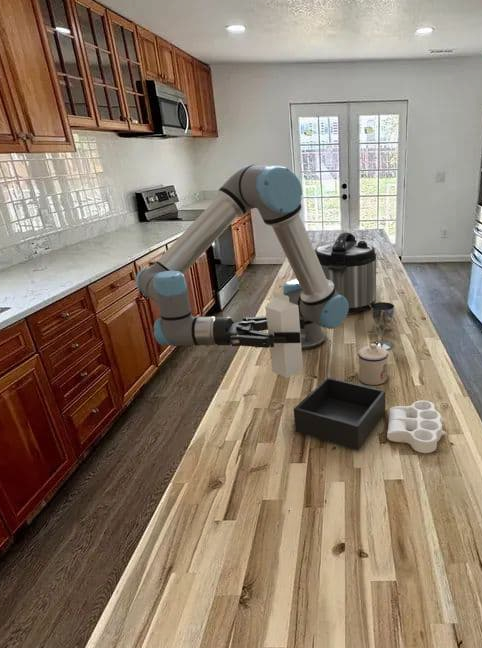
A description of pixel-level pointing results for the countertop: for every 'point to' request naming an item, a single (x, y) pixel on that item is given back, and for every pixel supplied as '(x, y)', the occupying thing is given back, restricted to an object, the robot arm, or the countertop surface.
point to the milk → (284, 320)
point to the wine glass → (382, 320)
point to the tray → (340, 412)
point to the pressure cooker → (350, 270)
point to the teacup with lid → (373, 365)
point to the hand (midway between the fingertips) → (302, 330)
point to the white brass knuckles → (416, 426)
